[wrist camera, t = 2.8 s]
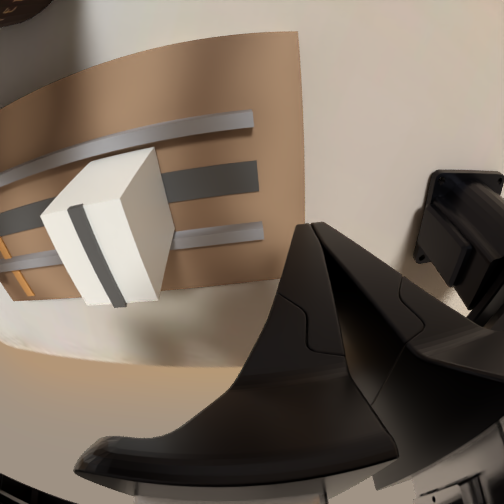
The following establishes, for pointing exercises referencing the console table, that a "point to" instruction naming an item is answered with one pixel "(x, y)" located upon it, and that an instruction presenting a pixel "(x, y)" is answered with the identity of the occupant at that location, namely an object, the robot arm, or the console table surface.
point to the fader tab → (114, 229)
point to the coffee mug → (20, 10)
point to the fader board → (166, 157)
